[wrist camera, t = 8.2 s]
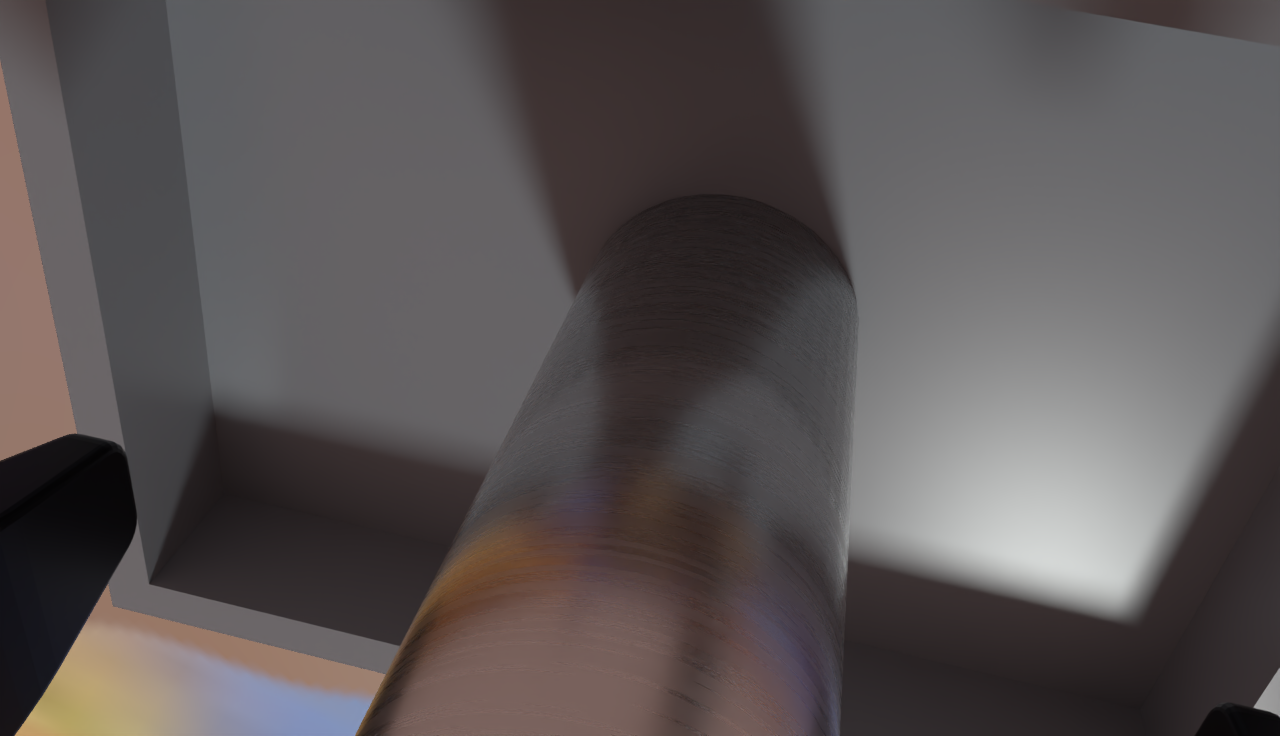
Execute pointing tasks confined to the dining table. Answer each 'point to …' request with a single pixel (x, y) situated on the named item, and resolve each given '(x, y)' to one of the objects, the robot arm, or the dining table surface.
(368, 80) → the tray
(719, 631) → the pin
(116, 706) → the dining table surface
